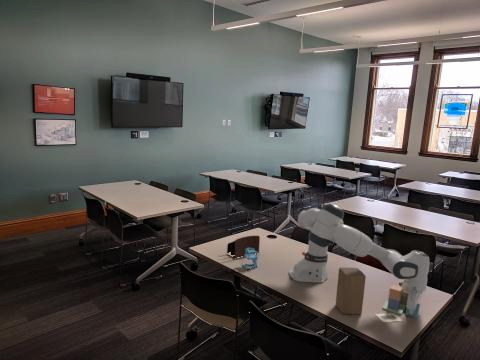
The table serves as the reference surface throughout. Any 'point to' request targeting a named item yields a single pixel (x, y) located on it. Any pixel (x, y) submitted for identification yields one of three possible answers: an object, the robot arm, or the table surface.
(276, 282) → the table surface
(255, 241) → the letter holder
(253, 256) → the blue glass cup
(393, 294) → the orange cube
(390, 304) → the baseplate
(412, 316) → the teal cube
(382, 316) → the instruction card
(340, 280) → the wooden block
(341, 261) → the table surface
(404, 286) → the block tower
